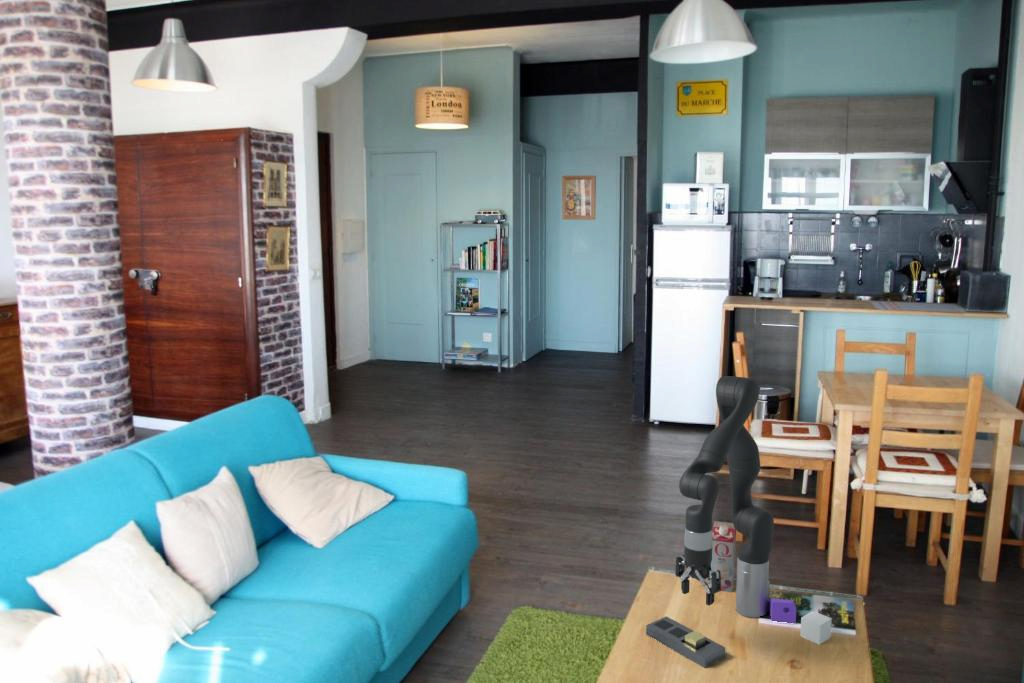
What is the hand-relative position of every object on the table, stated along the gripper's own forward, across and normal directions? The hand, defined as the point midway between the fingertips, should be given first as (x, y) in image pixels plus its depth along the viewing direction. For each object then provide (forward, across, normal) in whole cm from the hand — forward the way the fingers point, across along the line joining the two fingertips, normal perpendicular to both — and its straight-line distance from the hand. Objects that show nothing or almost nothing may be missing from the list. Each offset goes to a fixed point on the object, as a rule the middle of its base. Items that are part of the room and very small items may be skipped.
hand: (697, 598), depth 234 cm
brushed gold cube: (+16, 0, +1) cm, 16 cm away
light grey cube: (+17, -16, -33) cm, 40 cm away
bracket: (+17, -2, -36) cm, 40 cm away
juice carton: (+16, +21, -37) cm, 45 cm away
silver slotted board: (+16, +4, 0) cm, 17 cm away
